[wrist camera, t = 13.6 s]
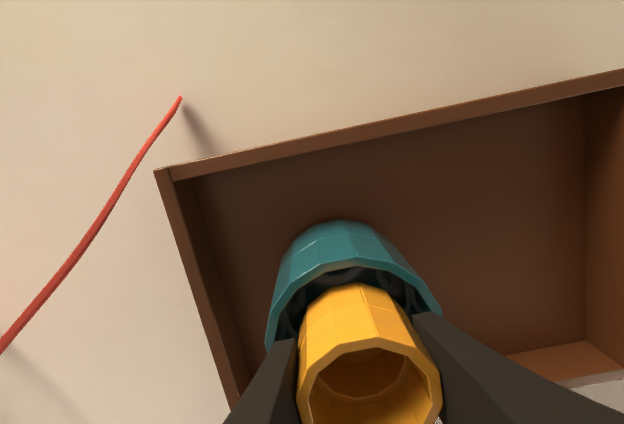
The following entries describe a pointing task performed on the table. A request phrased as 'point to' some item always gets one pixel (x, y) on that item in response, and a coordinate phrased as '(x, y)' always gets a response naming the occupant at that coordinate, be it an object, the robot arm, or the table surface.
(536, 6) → the table surface
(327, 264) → the teal hollow cylinder
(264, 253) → the tray
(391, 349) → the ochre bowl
